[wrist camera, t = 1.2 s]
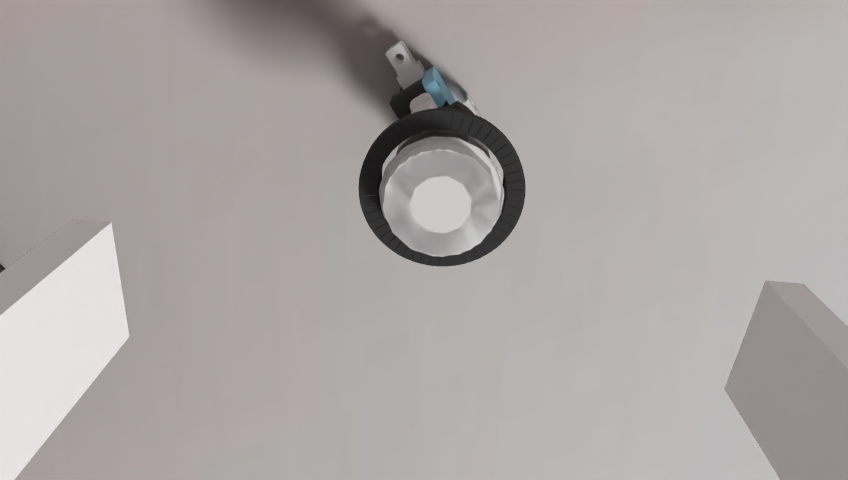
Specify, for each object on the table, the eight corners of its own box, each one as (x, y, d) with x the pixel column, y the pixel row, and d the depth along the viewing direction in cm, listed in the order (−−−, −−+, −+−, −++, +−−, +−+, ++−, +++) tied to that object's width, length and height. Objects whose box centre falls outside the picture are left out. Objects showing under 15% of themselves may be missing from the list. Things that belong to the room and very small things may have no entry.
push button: (346, 74, 27) (292, 140, 18) (450, 6, 26) (447, 41, 17) (426, 194, 29) (414, 306, 20) (525, 138, 28) (559, 232, 19)
